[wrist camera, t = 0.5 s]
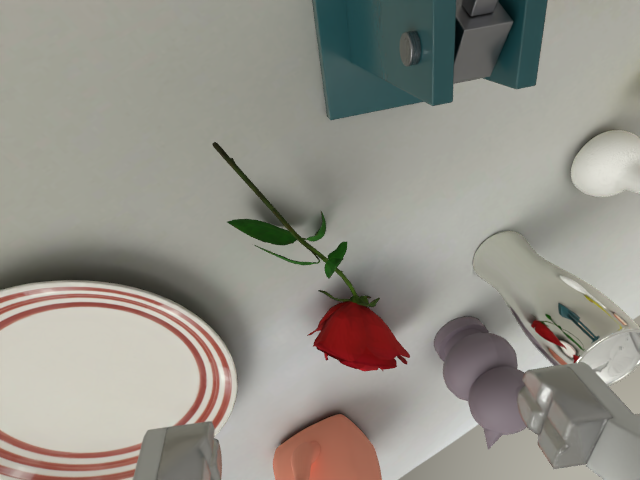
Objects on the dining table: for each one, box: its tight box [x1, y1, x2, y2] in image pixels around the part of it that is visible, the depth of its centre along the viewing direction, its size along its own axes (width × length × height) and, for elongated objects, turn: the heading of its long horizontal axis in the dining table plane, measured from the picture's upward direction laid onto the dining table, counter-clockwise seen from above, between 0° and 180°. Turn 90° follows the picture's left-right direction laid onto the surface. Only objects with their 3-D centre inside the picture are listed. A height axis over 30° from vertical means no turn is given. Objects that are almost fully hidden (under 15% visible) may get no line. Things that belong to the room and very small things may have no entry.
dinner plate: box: [0, 280, 238, 480], centre depth 40 cm, size 27×27×3 cm
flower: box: [213, 142, 410, 371], centre depth 35 cm, size 9×9×30 cm
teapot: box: [273, 414, 382, 480], centre depth 49 cm, size 12×18×10 cm, turn 31°
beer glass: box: [473, 231, 640, 386], centre depth 37 cm, size 7×7×15 cm
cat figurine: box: [434, 317, 526, 449], centre depth 44 cm, size 8×8×12 cm
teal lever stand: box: [312, 0, 548, 120], centre depth 23 cm, size 12×9×15 cm
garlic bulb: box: [571, 130, 640, 197], centre depth 36 cm, size 6×6×8 cm
